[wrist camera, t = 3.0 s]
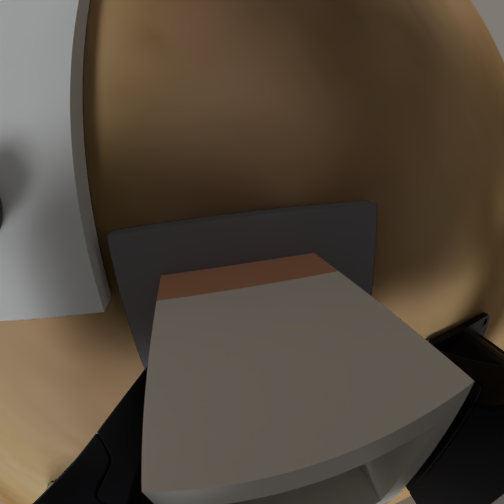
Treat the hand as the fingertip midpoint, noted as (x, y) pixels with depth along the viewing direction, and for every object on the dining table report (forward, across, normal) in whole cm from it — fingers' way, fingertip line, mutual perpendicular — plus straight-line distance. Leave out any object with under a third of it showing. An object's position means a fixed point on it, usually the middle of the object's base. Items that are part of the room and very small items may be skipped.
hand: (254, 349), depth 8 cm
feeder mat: (+2, 0, 0) cm, 2 cm away
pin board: (+2, +11, -7) cm, 13 cm away
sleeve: (+1, 0, 0) cm, 1 cm away
